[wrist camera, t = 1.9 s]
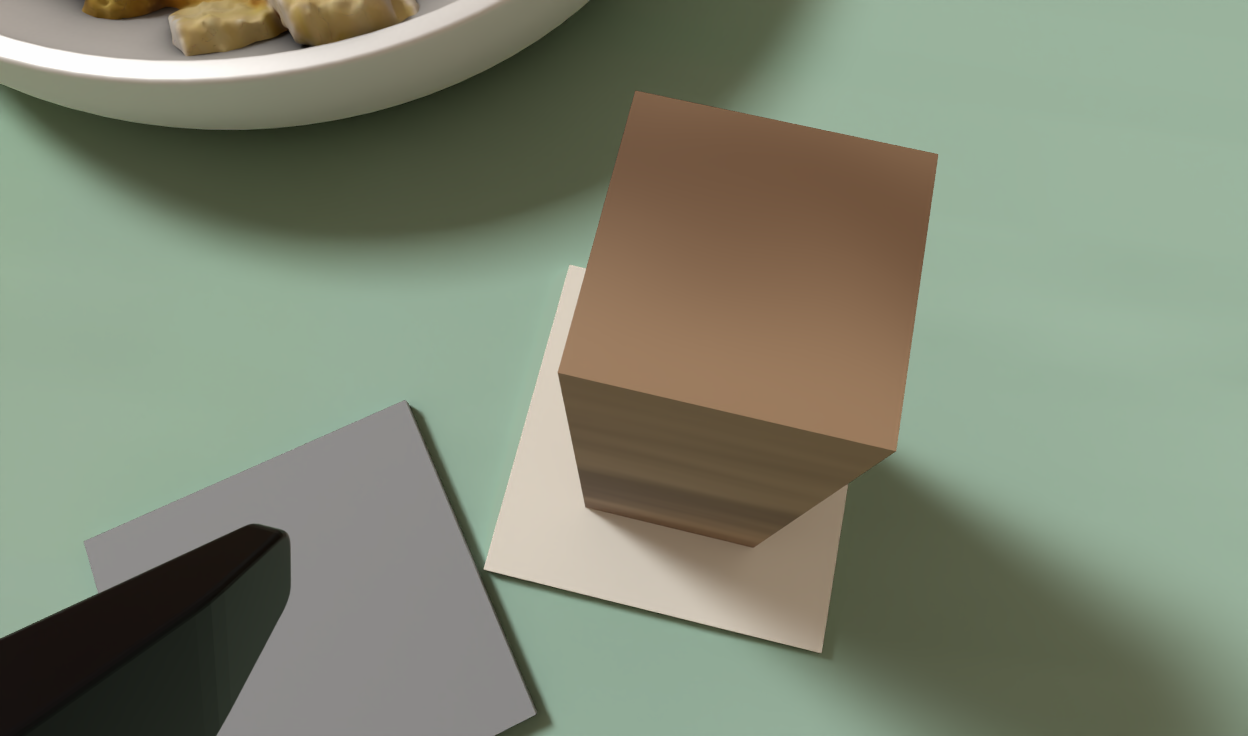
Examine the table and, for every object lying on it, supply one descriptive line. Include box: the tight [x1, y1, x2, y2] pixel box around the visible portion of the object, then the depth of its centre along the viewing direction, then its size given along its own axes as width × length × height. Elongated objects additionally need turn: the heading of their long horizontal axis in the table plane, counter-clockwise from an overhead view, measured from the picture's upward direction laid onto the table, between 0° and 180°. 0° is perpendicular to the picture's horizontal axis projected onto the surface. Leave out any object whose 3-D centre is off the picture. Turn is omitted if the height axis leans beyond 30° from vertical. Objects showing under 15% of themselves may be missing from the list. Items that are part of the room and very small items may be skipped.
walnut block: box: [558, 91, 938, 548], centre depth 18 cm, size 5×5×12 cm
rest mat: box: [84, 400, 537, 736], centre depth 22 cm, size 9×9×1 cm
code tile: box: [484, 265, 848, 653], centre depth 24 cm, size 9×9×1 cm
